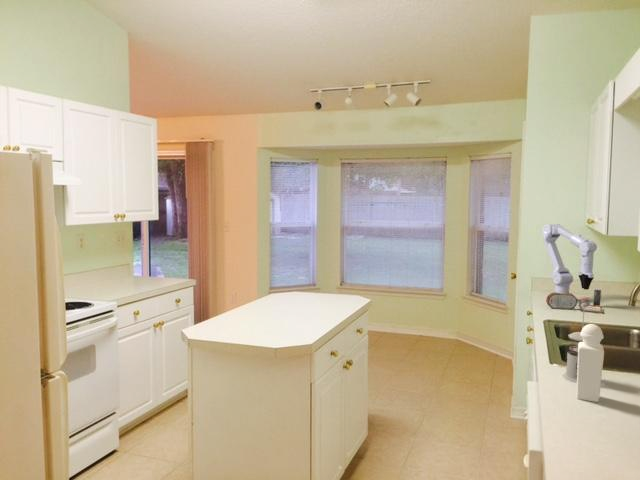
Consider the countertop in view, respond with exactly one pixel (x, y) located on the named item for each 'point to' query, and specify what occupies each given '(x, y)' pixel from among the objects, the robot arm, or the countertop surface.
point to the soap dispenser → (590, 363)
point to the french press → (573, 359)
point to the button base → (584, 302)
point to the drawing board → (591, 309)
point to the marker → (597, 298)
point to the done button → (584, 299)
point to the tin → (561, 300)
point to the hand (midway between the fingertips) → (585, 288)
